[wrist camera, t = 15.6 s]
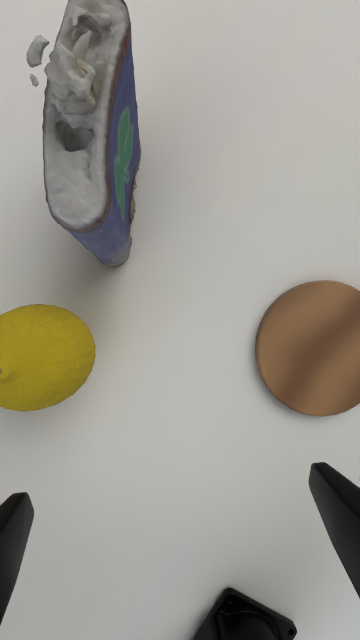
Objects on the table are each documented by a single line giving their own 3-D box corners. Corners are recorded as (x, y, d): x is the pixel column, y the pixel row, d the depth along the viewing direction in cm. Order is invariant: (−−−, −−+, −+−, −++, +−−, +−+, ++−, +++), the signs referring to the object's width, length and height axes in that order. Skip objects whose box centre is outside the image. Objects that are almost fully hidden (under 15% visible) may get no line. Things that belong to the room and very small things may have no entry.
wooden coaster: (405, 327, 21) (413, 328, 20) (336, 437, 21) (341, 441, 20) (302, 254, 20) (307, 253, 19) (229, 369, 20) (231, 371, 19)
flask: (129, 269, 19) (93, 217, 8) (87, 263, 19) (-7, 203, 8) (145, 136, 19) (128, -92, 8) (102, 128, 19) (26, -117, 8)
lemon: (67, 288, 19) (2, 274, 11) (122, 347, 19) (98, 375, 11) (6, 342, 19) (-107, 367, 11) (63, 400, 19) (-4, 466, 11)
